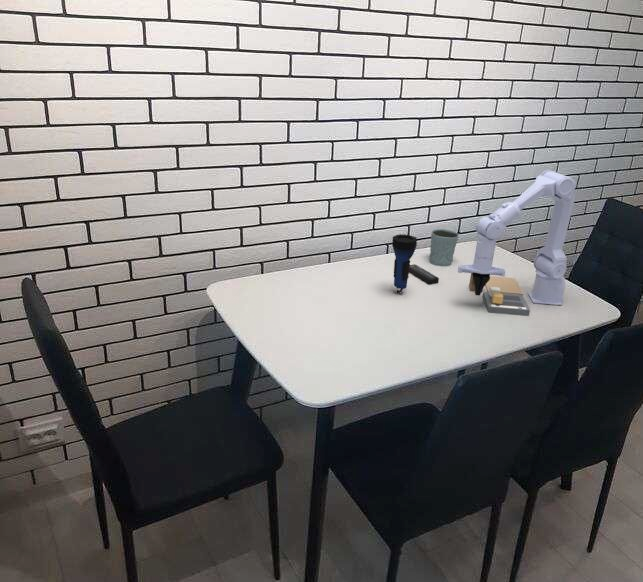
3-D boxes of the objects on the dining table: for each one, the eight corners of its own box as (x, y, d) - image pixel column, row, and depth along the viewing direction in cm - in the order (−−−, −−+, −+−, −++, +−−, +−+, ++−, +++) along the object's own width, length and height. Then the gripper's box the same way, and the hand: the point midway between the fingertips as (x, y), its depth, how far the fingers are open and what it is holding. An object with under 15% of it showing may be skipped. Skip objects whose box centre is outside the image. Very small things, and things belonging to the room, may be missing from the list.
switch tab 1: (497, 294, 193) (499, 287, 192) (499, 297, 191) (500, 290, 190) (488, 293, 194) (490, 286, 193) (490, 296, 191) (491, 289, 190)
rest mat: (514, 279, 212) (515, 278, 212) (522, 295, 199) (523, 293, 199) (481, 277, 213) (482, 275, 213) (487, 292, 200) (488, 291, 200)
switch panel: (520, 300, 196) (522, 294, 195) (528, 315, 185) (530, 309, 184) (482, 296, 197) (483, 291, 196) (487, 312, 186) (488, 306, 185)
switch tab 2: (500, 300, 189) (501, 293, 188) (502, 303, 187) (503, 296, 186) (491, 299, 189) (492, 292, 188) (492, 303, 187) (493, 296, 186)
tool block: (480, 287, 204) (483, 272, 202) (481, 292, 200) (484, 276, 198) (468, 286, 204) (471, 271, 202) (470, 291, 201) (473, 275, 198)
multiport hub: (428, 286, 204) (429, 280, 203) (405, 271, 216) (405, 265, 215) (438, 284, 206) (439, 278, 205) (414, 269, 218) (415, 264, 217)
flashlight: (385, 296, 194) (391, 240, 185) (388, 287, 201) (394, 232, 192) (409, 299, 192) (416, 243, 184) (411, 290, 199) (418, 235, 191)
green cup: (423, 258, 227) (426, 229, 222) (445, 256, 231) (449, 228, 226) (436, 268, 219) (440, 238, 214) (459, 265, 222) (463, 236, 217)
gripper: (505, 252, 185) (497, 291, 191) (459, 249, 186) (453, 287, 192) (509, 260, 179) (501, 300, 184) (462, 256, 180) (455, 296, 185)
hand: (477, 294), depth 187 cm, fingers closed
